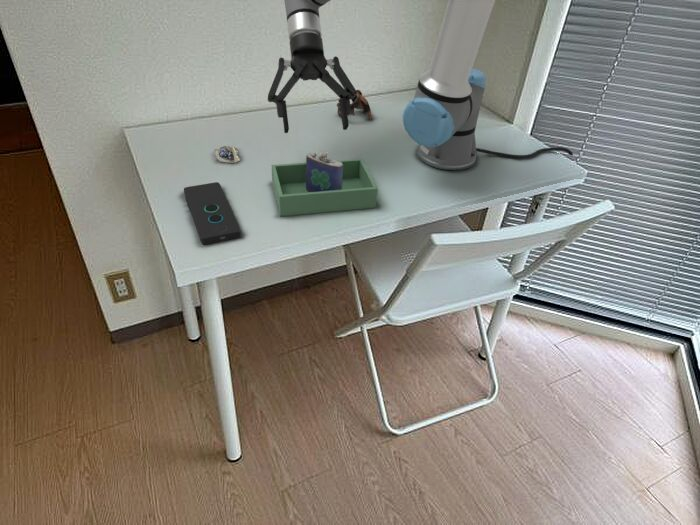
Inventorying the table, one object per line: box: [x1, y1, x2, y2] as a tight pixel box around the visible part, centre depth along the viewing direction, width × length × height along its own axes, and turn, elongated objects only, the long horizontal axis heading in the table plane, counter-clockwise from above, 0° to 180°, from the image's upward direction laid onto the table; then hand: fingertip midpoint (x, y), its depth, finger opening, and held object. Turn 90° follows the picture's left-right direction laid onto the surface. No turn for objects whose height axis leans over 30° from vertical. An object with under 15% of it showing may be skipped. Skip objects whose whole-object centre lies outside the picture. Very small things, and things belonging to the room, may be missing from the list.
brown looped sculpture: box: [336, 89, 372, 121], centre depth 151 cm, size 12×10×8 cm
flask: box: [305, 151, 343, 192], centre depth 114 cm, size 9×3×11 cm, turn 61°
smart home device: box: [183, 181, 242, 246], centre depth 109 cm, size 8×2×20 cm
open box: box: [271, 158, 379, 217], centre depth 116 cm, size 22×14×5 cm, turn 104°
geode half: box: [213, 145, 241, 164], centre depth 129 cm, size 7×8×2 cm
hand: (316, 129), depth 116 cm, fingers open, 13 cm apart
